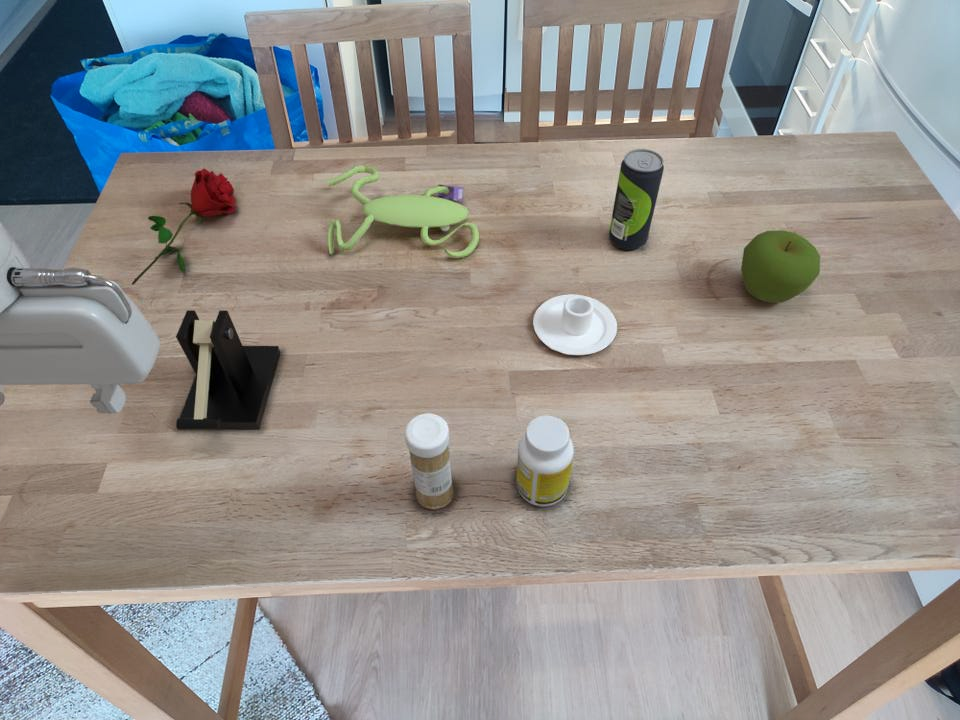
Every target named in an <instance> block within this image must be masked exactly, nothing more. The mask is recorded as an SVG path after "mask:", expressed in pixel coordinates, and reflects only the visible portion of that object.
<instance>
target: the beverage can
mask: <svg viewBox="0 0 960 720" xmlns="http://www.w3.org/2000/svg"><path fill="white" fill-rule="evenodd" d="M664 166H665V165H664V158H663V156H662V155H661V154H660V153H658V152H656V151H654V150H652V149H647V148H635V149H632V150H629V151H627V152H626V153H625V154H624V156H623V160H622V161H621V163H620V168H619V174H618V180H617V186H616V191H615V197H614V202H613V208H612V212H611V213H612V214H611V218H610V219H611V220H610V224H609V232H608V238H609V240H610V242H611V243H612V244H613V245H614V246H615V247H617V248H619V249H621V250H623V251H624V250H625V251H634V250H638V249H640V248H641V247H643V246H644V245H646V244H647V241H648V239H649V234H650V229H651V226H652V222H653V217H654V212H655V210H656V205H657V201H658V195H659V191H660V187H661V182H662V179H663V174H664V170H665V167H664Z"/></svg>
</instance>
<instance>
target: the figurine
mask: <svg viewBox="0 0 960 720" xmlns="http://www.w3.org/2000/svg"><path fill="white" fill-rule="evenodd" d="M361 173H365V174H370V175H369V176H364V177H361V178H359V179H357V180H356V181H354V182H353V184H352V186H351V190H350V193H351V195H352V196H353V198H354V199H355V200H356V201H358V202H359V203H361V204H362V205H363V207H362V208H361V210H362V212H363V213H364V215H365V216H366V217H365V219H364V220H363V222H362V224H361V225H360V227H359V228H358V229H357V230H356V231H355V233H353V235H352V236H351V237H350V239H349V240H348V241H346V242H344V240H343V237H342V226H341V221H340V220H339V219H331V220H330V223H329V225H328V231H327V243H328V251H329V254H330V255H334V253H335V240H334V239H335V231H336V244H337V245H338V247H339V249H340V250H341V251H350V250H351V249H353V248H355V246H356V244H357V243H358V242H359V241H360V240H361V238H362V237H363V236H364V235H365V234H366V232H367V231H368V229H369V228H370V226H372V223H373V222H374V221H376V222H379V223H382V224H386V225H389V226H395V227H402V228H411V229H418V228H419V229H420V238H421V240H422V242H423V243H424V244H426V245H427V246H436V245H437V246H438V245H439V244H441V243H443V242H444V241H446V240H448V239H449V238H451V237H452V236H453V235H454V234H455V233H456V232H457V231H458V230H459V229H460V228H461V227H467V228H468V229H469V230H470V232H471V240H470V242H469V243H468V245H467V246H466V247H465V248H464V249H463V250H460V251H450V250H449V249H448V248H447V247H445V246H444V248H443V250H444V253H445V254H446V255H447V256H449V257H450V258H452V259H462V258H465V257H468V256H470V255H471V254H472V253H473V252H474V251H475V249H476V248H477V246H478V244H479V241H480V232H479V227H477V225H476V224H475V223H473V222H469V221H467V222H465V223H464V222H463V221H465V220H467V219H468V216H469V215H470V212H469V211H468V209H467V208H466V207H465V206H463V205H462V204H460V203H458V202H456V201H463V199H464V189H465V188H464V186H454V185H444V184H438V185H437V186H435V187H431V188H429V189H427V190H426V191H425V192H424V194H423V195H419V194H396V195H395V194H394V195H386V196H381V197H378V198H374V199H370V198H367V197H366V196H365V195H363V194H362V193H360V191H359V190H360V188H361V187H362V186H365V185H367V184H371V183H375V182H377V181H378V180H379V179H380V178H381V176H380V175H381V174H380V172H379V171H378V169H376V168H374V167H372V166H368V165H355V166H354V167H351V168H350V169H348V170H347V171H345V172H343V173H342V174H340V175H338V176H335V177H332V178H329V179H328V187H333V186H335V185H338V184H340V183H342V182H344V181H346V180H347V179H350V178H351V177H352V176H355V175H356V174H361ZM436 194H437V196H434V195H436ZM461 222H463V223H462V224H460V225H458V227H456V228H455V229H453V230H452V231H451V232H449V233H447V234H446V235H445V236H443V237H441V238H439V239H436V240H434V239H431V238H430V236H429V234H428V233H429V229H431V228H433V229H434V228H440V230H441V231H442V232H447V231H449V230H450V229H451V228H450V227H451V226H452V225H457V224H459V223H461Z"/></svg>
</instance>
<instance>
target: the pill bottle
mask: <svg viewBox="0 0 960 720" xmlns="http://www.w3.org/2000/svg"><path fill="white" fill-rule="evenodd" d="M570 433H571V432H570V429H569V427H568V425H567V424H566V423H565V422H564V421H563V420H562V419H560V418H559V417H556V416H555V415H546V414H545V415H539V416H537V417H535V418H533V419H532V420H531V421H530V422H529V423H528V424H527V426H526V429H525V432H524V433H523V434H522V436H521V437H520V439H519V441H518V445H517V464H516V488H517V491H518V494H519V495H520V496H521V498H523V500H524V501H526V502H527V503H529V504H531V505H534V506H537V507H544V508H545V507H551V506H553V505H556V504H558V503H559V502H561V501H562V500H563V499H564V497H565V496H566V495H567V493H568V489H569V485H570V481H571V473H572V468H573V461H574V455H575V447H574V443H573V441H572V439H571V437H570V435H571V434H570Z"/></svg>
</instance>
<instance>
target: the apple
mask: <svg viewBox="0 0 960 720" xmlns="http://www.w3.org/2000/svg"><path fill="white" fill-rule="evenodd" d="M740 266H741V267H740V271H741V275H742V279H743V282H744V286H745V289H746V291H748V292H749V294H750V295H752V297H755V298H757V299H758V300H760V301H763V302H767V303H775V304H776V303H777V304H778V303H780V304H781V303H784V302H787V301H789V300H791V299H793V298H795V297H796V296H799V295H800V294H802V293H804V292H805V291H806V290H807V289H808V288H809V287H810V286H811V285H812V284H813V283H814V281H816V279H817V278H818V277H819V275H820V269H821V255H820V253H819V252H818V250H817V248H816V247H815V245H813V244H812V243H811V242H810V241H809V240H807V239H806V238H805V237H803V236H802V235H799V234H797V232H792V231H787V230H766V231H763V232H761V233H759V234H757V235H755V237H753V238H752V239H751V240H750V241H749V242H748V243H747V245H746V246H744V248H743V253H742V261H741V265H740Z"/></svg>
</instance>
